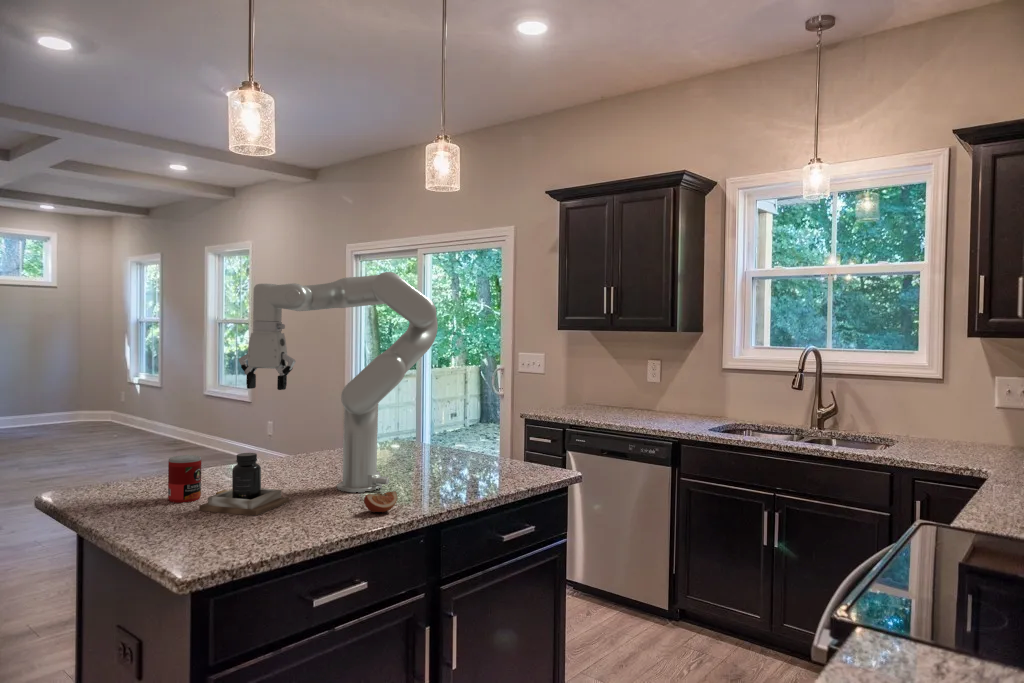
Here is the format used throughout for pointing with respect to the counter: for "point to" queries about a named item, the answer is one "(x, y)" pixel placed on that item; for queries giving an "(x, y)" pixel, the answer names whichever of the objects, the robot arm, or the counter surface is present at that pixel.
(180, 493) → the canned food
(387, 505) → the fruit slice
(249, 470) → the supplement bottle
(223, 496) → the pocket board
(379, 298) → the robot arm
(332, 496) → the counter surface
